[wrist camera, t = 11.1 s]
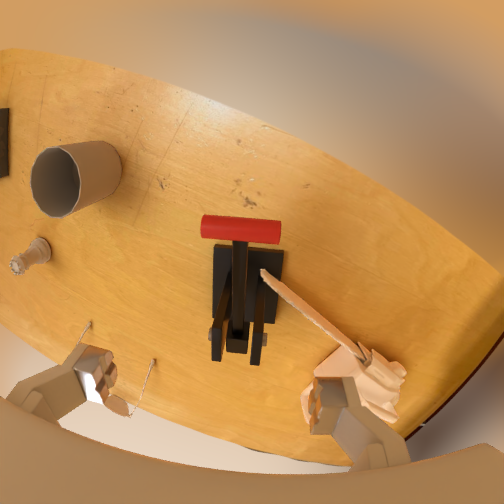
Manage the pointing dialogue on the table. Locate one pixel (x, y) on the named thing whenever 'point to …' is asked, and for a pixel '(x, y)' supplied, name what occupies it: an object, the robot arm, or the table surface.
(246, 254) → the press lever
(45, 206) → the cup
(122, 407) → the eyeglasses
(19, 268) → the rook chess piece
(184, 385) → the table surface
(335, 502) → the robot arm
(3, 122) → the button block
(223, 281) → the press bracket
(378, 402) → the chainsaw
